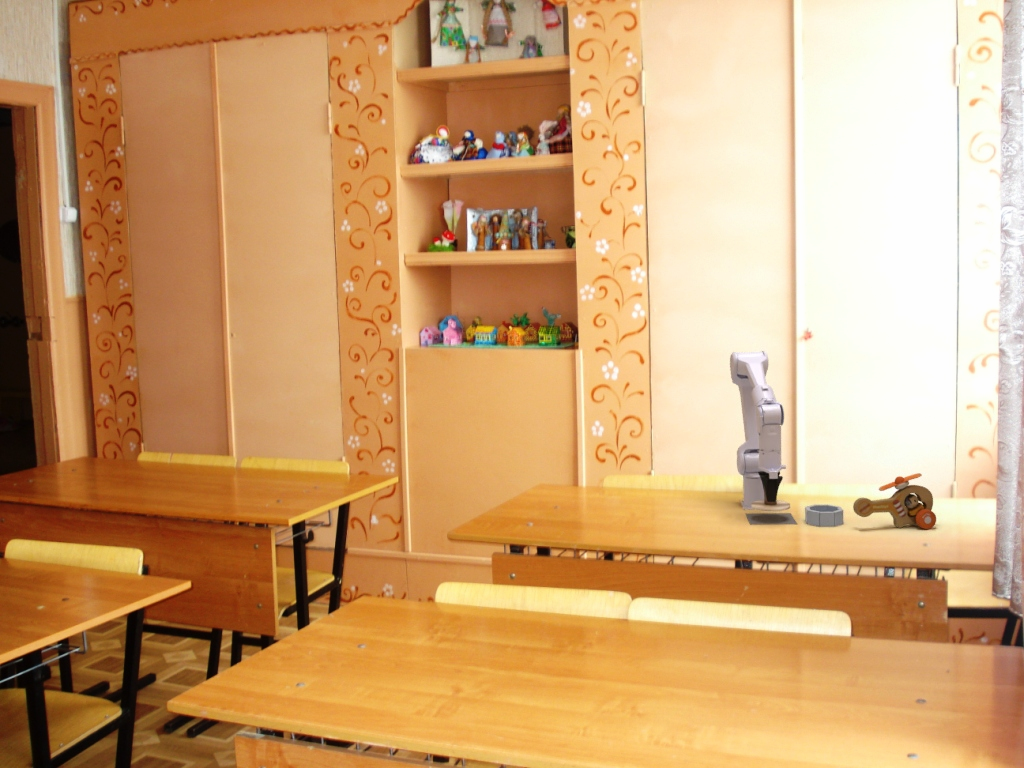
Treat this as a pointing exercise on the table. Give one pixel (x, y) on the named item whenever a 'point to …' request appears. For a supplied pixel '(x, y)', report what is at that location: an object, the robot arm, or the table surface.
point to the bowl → (824, 515)
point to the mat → (770, 518)
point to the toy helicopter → (902, 504)
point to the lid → (770, 505)
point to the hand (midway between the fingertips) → (770, 500)
